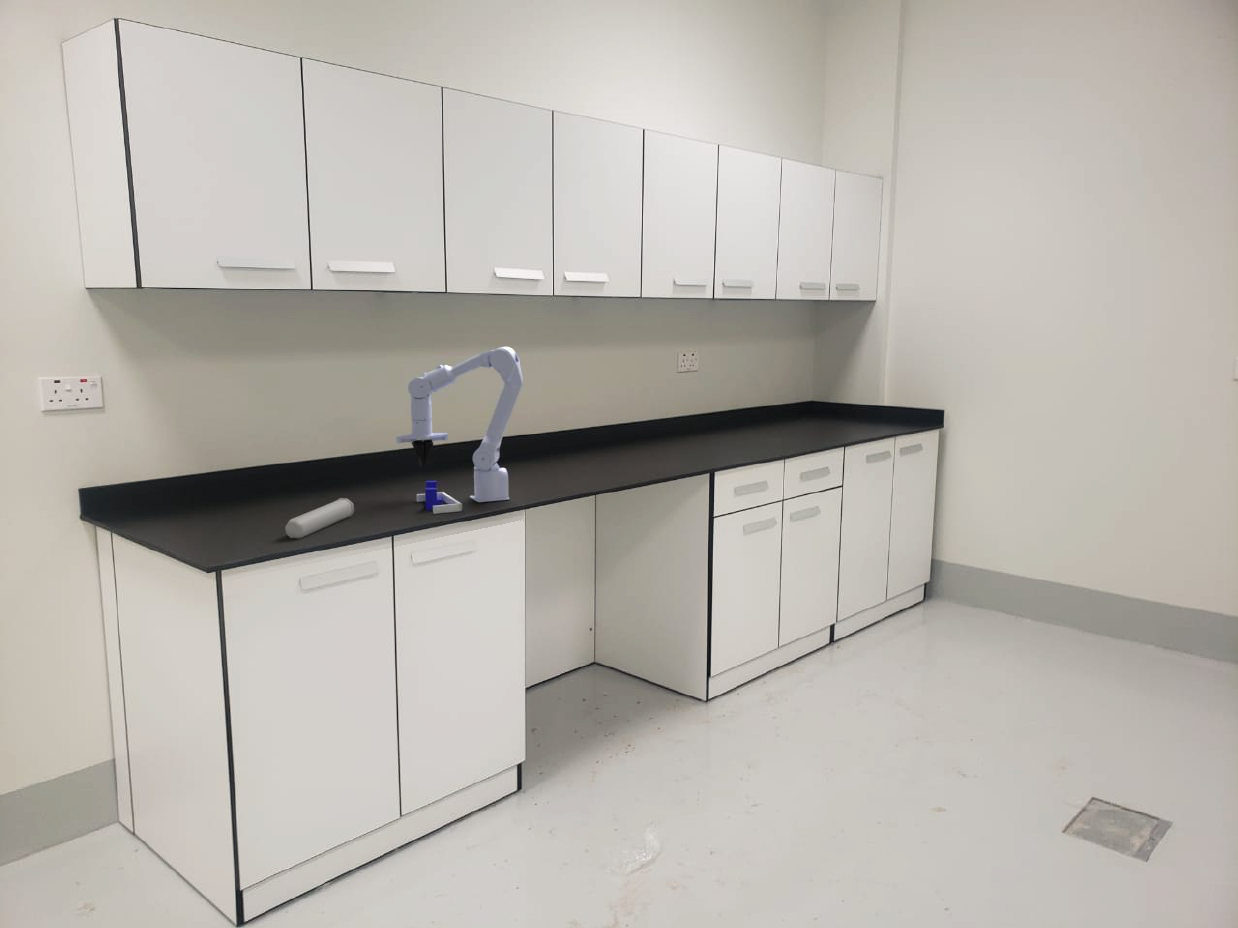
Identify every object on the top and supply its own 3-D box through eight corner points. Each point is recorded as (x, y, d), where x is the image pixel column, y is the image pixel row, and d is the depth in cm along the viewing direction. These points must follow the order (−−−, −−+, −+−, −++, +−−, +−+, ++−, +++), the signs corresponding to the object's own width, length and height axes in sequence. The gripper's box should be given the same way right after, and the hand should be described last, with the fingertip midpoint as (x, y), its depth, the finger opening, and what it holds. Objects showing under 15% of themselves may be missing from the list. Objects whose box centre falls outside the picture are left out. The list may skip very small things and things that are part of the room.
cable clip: (442, 510, 240) (442, 488, 239) (425, 510, 239) (425, 489, 238) (442, 501, 252) (442, 480, 251) (426, 501, 251) (426, 481, 250)
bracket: (443, 498, 254) (443, 492, 254) (462, 510, 238) (461, 503, 238) (416, 501, 250) (416, 494, 250) (433, 513, 235) (433, 506, 235)
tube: (303, 525, 206) (356, 502, 230) (283, 516, 207) (338, 494, 231) (298, 545, 207) (351, 520, 231) (278, 537, 208) (333, 513, 232)
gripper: (442, 416, 257) (443, 462, 260) (392, 419, 251) (394, 466, 253) (449, 419, 251) (450, 466, 254) (398, 421, 245) (400, 469, 247)
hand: (423, 466), depth 253 cm, fingers closed
